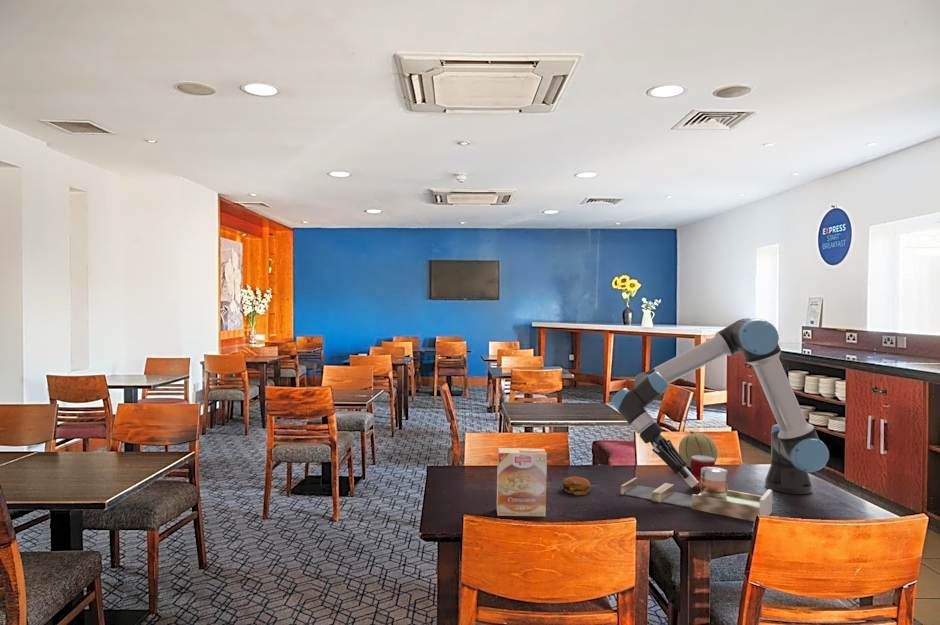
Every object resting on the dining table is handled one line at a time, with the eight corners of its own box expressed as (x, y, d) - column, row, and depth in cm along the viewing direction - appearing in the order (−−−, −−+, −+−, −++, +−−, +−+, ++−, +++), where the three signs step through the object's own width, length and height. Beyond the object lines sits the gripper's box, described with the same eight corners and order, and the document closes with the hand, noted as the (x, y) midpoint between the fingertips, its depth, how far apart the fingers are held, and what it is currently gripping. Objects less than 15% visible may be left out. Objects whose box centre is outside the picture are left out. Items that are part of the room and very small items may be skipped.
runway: (620, 494, 213) (620, 481, 213) (634, 485, 224) (635, 473, 224) (759, 522, 187) (759, 507, 187) (767, 510, 198) (768, 496, 198)
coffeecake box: (497, 516, 189) (498, 452, 188) (496, 508, 196) (497, 447, 195) (546, 517, 189) (547, 453, 188) (543, 509, 196) (544, 447, 196)
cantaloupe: (716, 476, 238) (716, 437, 238) (676, 471, 244) (676, 433, 244) (718, 467, 252) (719, 430, 251) (680, 463, 258) (681, 427, 258)
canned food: (716, 492, 217) (716, 461, 217) (692, 490, 219) (692, 459, 219) (712, 486, 225) (712, 455, 225) (689, 484, 226) (689, 454, 226)
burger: (586, 487, 221) (586, 474, 221) (594, 495, 212) (594, 482, 211) (559, 487, 220) (559, 474, 220) (565, 496, 211) (565, 482, 211)
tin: (725, 495, 204) (726, 467, 204) (728, 502, 196) (729, 474, 196) (699, 492, 206) (699, 465, 206) (701, 499, 198) (702, 472, 198)
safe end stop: (721, 514, 193) (721, 492, 193) (731, 504, 204) (731, 482, 204) (763, 523, 186) (764, 500, 186) (771, 511, 197) (772, 489, 197)
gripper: (645, 431, 221) (692, 487, 211) (632, 437, 210) (680, 496, 201) (661, 418, 218) (709, 474, 208) (647, 424, 207) (697, 483, 197)
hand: (695, 485), depth 204 cm, fingers closed
